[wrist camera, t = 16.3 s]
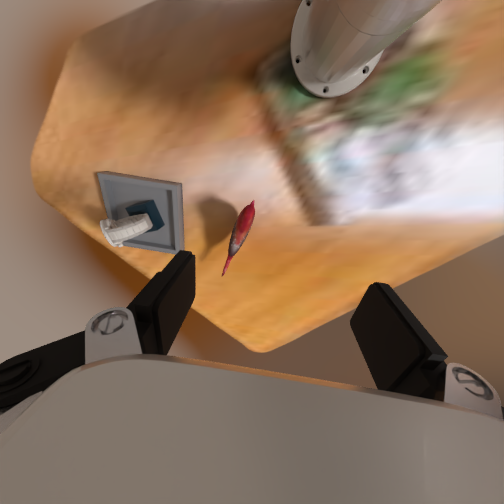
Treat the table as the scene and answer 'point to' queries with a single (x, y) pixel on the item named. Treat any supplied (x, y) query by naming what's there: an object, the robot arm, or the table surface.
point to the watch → (132, 223)
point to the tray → (140, 190)
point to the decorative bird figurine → (240, 231)
